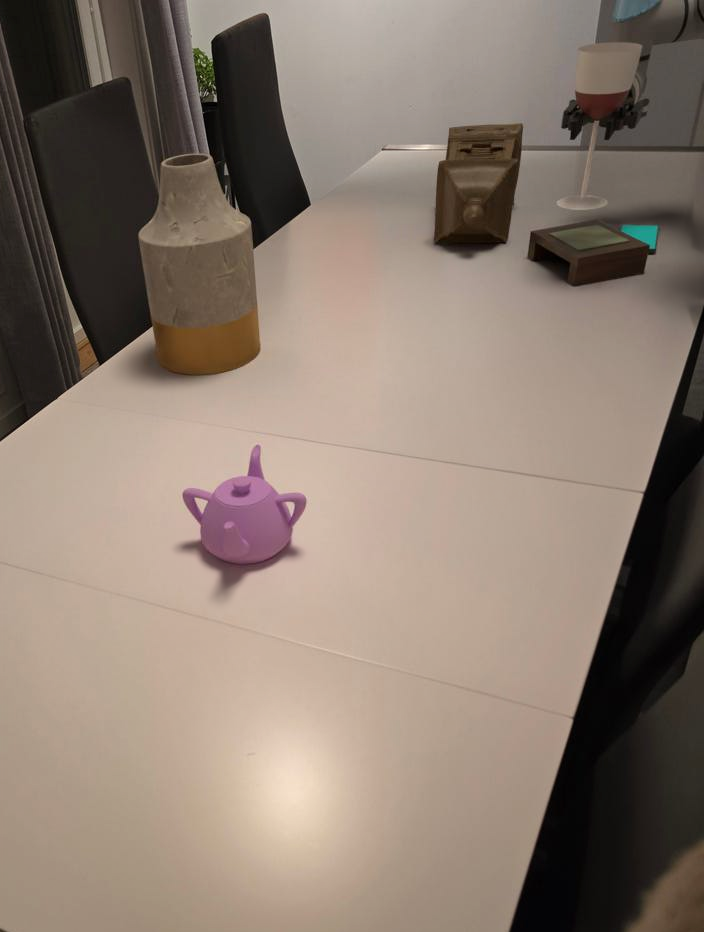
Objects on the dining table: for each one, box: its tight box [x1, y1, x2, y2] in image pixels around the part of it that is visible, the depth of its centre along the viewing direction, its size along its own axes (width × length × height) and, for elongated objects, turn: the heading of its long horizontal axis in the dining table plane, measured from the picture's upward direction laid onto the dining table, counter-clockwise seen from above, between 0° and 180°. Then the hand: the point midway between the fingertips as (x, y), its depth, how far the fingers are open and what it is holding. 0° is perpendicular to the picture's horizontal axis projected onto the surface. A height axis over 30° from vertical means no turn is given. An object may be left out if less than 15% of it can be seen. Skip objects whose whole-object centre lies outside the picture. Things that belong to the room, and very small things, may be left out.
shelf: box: [526, 219, 650, 287], centre depth 159 cm, size 18×14×5 cm
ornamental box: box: [433, 122, 524, 244], centre depth 176 cm, size 35×18×18 cm, turn 164°
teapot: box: [181, 444, 307, 565], centre depth 101 cm, size 12×14×9 cm
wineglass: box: [556, 42, 642, 211], centre depth 142 cm, size 9×10×23 cm
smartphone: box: [619, 224, 660, 254], centre depth 167 cm, size 7×1×15 cm
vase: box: [138, 153, 261, 376], centre depth 138 cm, size 18×18×30 cm
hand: (590, 130), depth 138 cm, fingers closed on wineglass, 5 cm apart
